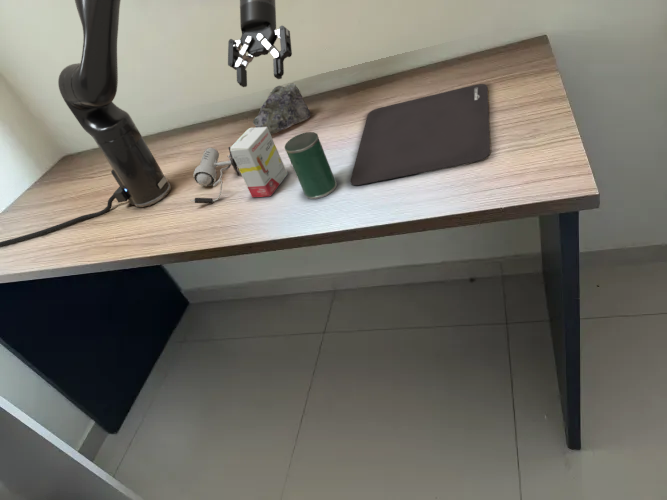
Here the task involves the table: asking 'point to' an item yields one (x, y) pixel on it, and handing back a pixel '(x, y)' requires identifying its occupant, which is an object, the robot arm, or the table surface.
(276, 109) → the mineral rock
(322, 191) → the tin can
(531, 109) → the table surface
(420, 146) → the mouse pad
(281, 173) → the ink box
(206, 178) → the clip-on lamp
